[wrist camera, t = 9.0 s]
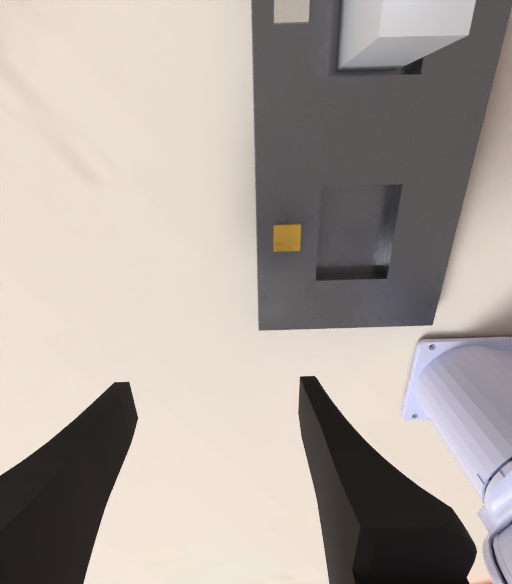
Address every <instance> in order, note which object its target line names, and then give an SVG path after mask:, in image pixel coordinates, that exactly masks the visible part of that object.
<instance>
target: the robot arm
mask: <svg viewBox="0 0 512 584" xmlns="http://www.w3.org/2000/svg"><path fill="white" fill-rule="evenodd" d="M432 344H433V345H432ZM430 345H432V346H431V347H429V346H430ZM298 413H299V421H300V428H301V435H302V440H303V444H304V448H305V452H306V456H307V460H308V464H309V468H310V472H311V476H312V480H313V484H314V488H315V493H316V498H317V503H318V509H319V516H320V522H321V528H322V535H323V542H324V548H325V555H326V562H327V569H328V577H329V584H469V582H468V580H467V576H468V574H469V571H470V569H471V567H472V565H473V563H474V561H475V558H476V554H477V550H476V546H475V544H474V542H473V540H472V538H471V537H470V535H469V533H468V531H467V530H466V528H465V527H464V525H463V523H462V522H461V521H460V519H459V518H458V516H457V515H456V513H455V512H454V510H453V509H452V508H451V507H449V506H448V505H446V504H445V503H443V502H442V501H440V500H439V499H437V498H436V497H434V496H433V495H431V494H430V493H428V492H427V491H425V490H424V489H422V488H421V487H419V486H418V485H417V484H415V483H414V482H413V481H411V480H410V479H409V478H407V477H406V476H405V475H404V474H402V473H401V472H400V471H399V470H397V469H396V468H395V467H394V466H393V465H391V464H390V463H389V462H388V461H387V460H385V459H384V458H383V457H382V456H381V455H380V454H379V453H378V452H377V451H376V450H375V449H374V448H373V447H371V446H370V445H369V444H368V443H367V442H366V441H365V440H364V438H363V437H362V436H361V435H360V434H359V433H358V432H357V431H356V430H355V429H354V428H353V426H352V425H351V424H350V423H349V422H348V421H347V420H346V418H345V417H344V416H343V415H342V413H341V412H340V411H339V410H338V408H337V407H336V406H335V404H334V403H333V402H332V400H331V399H330V398H329V396H328V395H327V393H326V392H325V390H324V389H323V387H322V386H321V384H320V383H319V381H318V379H317V378H316V377H315V376H304V377H300V390H299V411H298ZM413 414H414V415H413ZM401 416H402V417H403V419H404V420H430V422H431V423H432V425H433V426H434V428H435V429H436V431H437V432H438V434H439V435H440V437H441V439H442V440H443V442H444V443H445V445H446V446H447V448H448V449H449V451H450V452H451V454H452V456H453V457H454V459H455V460H456V462H457V463H458V465H459V466H460V468H461V469H462V471H463V473H464V474H465V476H466V477H467V479H468V480H469V482H470V483H471V485H472V486H473V488H474V489H475V491H476V493H477V494H478V496H479V497H480V499H481V500H482V502H483V503H484V505H483V507H482V509H481V510H480V511H479V512H478V513H477V515H478V516H479V518H480V519H481V521H482V523H483V524H484V526H485V528H486V529H487V531H488V532H489V534H488V535H487V536H486V538H485V539H484V542H483V557H484V561H485V565H486V568H487V571H488V573H489V576H490V578H491V581H492V583H493V584H512V337H482V338H449V339H424V340H421V341H419V342H418V344H417V347H416V351H415V356H414V360H413V364H412V369H411V373H410V377H409V382H408V386H407V390H406V395H405V399H404V403H403V408H402V412H401ZM137 420H138V416H137V412H136V408H135V404H134V400H133V396H132V392H131V387H130V383H129V382H115V383H114V384H112V385H111V386H110V387H109V388H108V389H107V390H106V391H105V392H104V393H103V394H102V395H101V396H100V397H99V398H97V399H96V400H95V401H94V402H93V403H92V404H91V405H90V406H89V407H88V408H87V409H86V410H85V411H83V412H82V413H81V414H80V415H79V416H78V417H77V418H76V419H75V420H74V421H72V422H71V423H70V424H69V425H68V426H66V427H65V428H64V429H63V430H62V431H61V432H59V433H58V434H57V435H56V436H55V437H54V438H52V439H51V440H50V441H49V442H47V443H46V444H45V445H43V446H42V447H41V448H40V449H38V450H37V451H35V452H34V453H33V454H31V455H30V456H29V457H27V458H26V459H25V460H23V461H22V462H20V463H19V464H17V465H16V466H14V467H13V468H11V469H10V470H8V471H7V472H5V473H4V474H2V475H1V476H0V584H83V583H84V579H85V575H86V571H87V567H88V564H89V560H90V557H91V553H92V550H93V546H94V543H95V539H96V536H97V532H98V529H99V526H100V523H101V519H102V516H103V513H104V510H105V507H106V504H107V501H108V499H109V496H110V494H111V491H112V489H113V486H114V484H115V481H116V479H117V477H118V474H119V472H120V469H121V467H122V464H123V462H124V460H125V457H126V455H127V452H128V450H129V447H130V445H131V442H132V439H133V435H134V432H135V428H136V424H137Z"/></svg>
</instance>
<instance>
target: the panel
mask: <svg viewBox="0 0 512 584" xmlns="http://www.w3.org/2000/svg"><path fill="white" fill-rule="evenodd" d="M341 3H342V0H251V10H252V55H253V100H254V145H255V190H256V235H257V280H258V322H259V330H292V329H325V328H358V327H391V326H424V325H433V321H434V317H435V313H436V309H437V305H438V301H439V297H440V293H441V289H442V285H443V280H444V276H445V272H446V268H447V264H448V260H449V256H450V252H451V248H452V244H453V240H454V236H455V232H456V228H457V224H458V220H459V216H460V212H461V208H462V204H463V199H464V195H465V191H466V187H467V183H468V179H469V175H470V171H471V167H472V163H473V159H474V155H475V151H476V147H477V143H478V139H479V135H480V131H481V127H482V123H483V119H484V114H485V110H486V106H487V102H488V98H489V94H490V90H491V86H492V82H493V78H494V74H495V70H496V66H497V62H498V58H499V54H500V50H501V46H502V42H503V38H504V34H505V29H506V25H507V21H508V17H509V13H510V9H511V5H512V0H476V2H475V7H474V12H473V17H472V22H471V26H470V31H469V35H468V36H466V37H464V38H462V39H460V40H457V41H455V42H453V43H451V44H449V45H447V46H445V47H443V48H441V49H439V50H437V51H435V52H433V53H430V54H428V55H426V56H424V57H422V58H420V59H418V60H416V61H414V62H412V63H410V64H408V65H406V66H403V67H401V68H399V69H390V70H346V71H337V59H338V45H339V31H340V17H341Z"/></svg>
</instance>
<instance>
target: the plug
mask: <svg viewBox="0 0 512 584" xmlns="http://www.w3.org/2000/svg"><path fill="white" fill-rule="evenodd" d="M475 2H476V0H342V3H341V17H340V31H339V45H338V59H337V71H346V70H390V69H399V68H401V67H403V66H406V65H408V64H410V63H412V62H414V61H416V60H418V59H420V58H422V57H424V56H426V55H428V54H430V53H433V52H435V51H437V50H439V49H441V48H443V47H445V46H447V45H449V44H451V43H453V42H455V41H457V40H460V39H462V38H464V37H466V36H468V35H469V31H470V26H471V22H472V17H473V12H474V7H475Z"/></svg>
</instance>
